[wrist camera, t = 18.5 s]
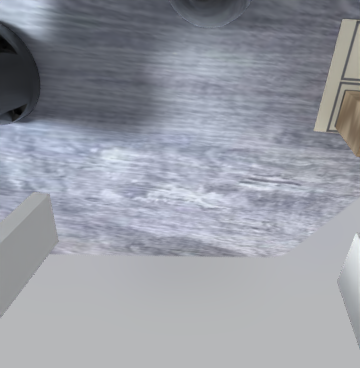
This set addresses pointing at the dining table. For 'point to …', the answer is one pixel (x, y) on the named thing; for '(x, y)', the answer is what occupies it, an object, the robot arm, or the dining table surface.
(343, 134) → the tall wooden block
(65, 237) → the dining table surface
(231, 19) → the pump dispenser
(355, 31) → the tag card
